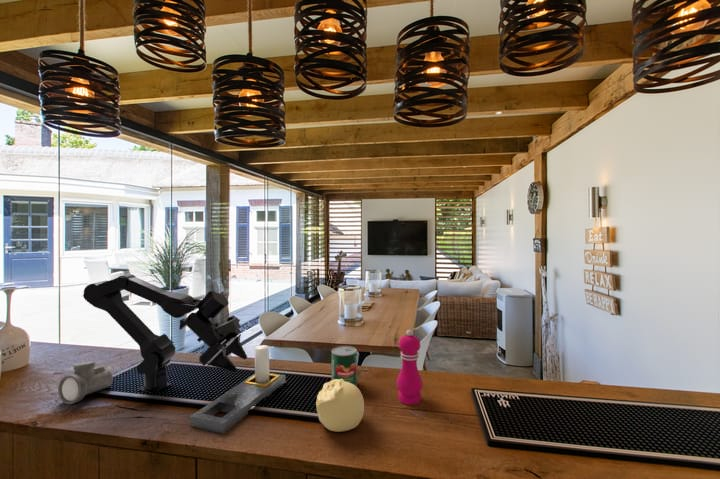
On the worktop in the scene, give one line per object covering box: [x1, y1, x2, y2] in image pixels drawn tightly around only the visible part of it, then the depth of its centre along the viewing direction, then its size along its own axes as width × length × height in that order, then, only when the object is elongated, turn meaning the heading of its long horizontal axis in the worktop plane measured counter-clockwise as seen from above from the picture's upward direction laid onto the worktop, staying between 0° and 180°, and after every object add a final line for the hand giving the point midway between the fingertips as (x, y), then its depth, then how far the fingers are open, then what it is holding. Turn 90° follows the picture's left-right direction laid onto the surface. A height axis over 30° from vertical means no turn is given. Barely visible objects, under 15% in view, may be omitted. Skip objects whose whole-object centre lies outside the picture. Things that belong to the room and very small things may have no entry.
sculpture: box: [315, 379, 365, 433], centre depth 87 cm, size 11×12×11 cm
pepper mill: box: [396, 329, 423, 406], centre depth 98 cm, size 7×7×20 cm
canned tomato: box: [331, 345, 358, 387], centre depth 108 cm, size 8×8×11 cm
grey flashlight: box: [57, 360, 114, 405], centre depth 103 cm, size 12×8×10 cm
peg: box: [254, 344, 270, 384], centre depth 106 cm, size 4×4×12 cm
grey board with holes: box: [189, 372, 287, 434], centre depth 98 cm, size 28×10×3 cm, turn 161°
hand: (241, 364), depth 106 cm, fingers open, 9 cm apart
